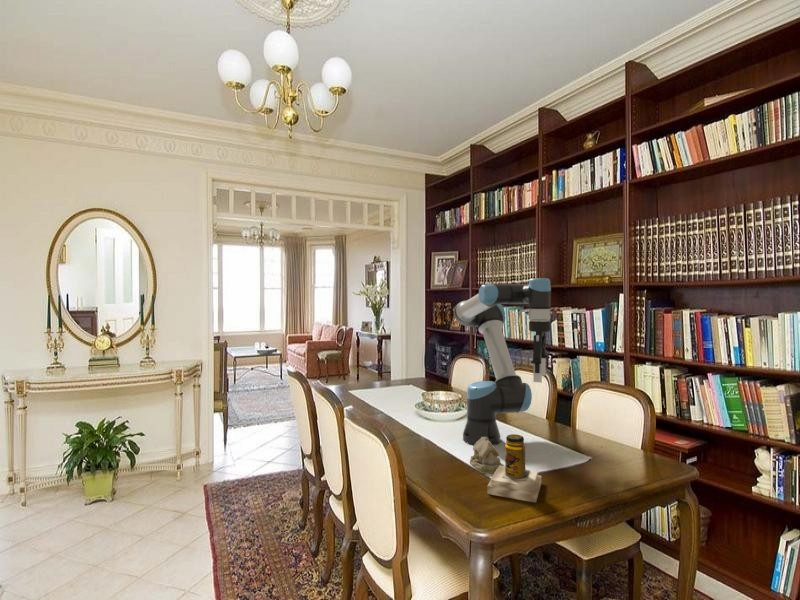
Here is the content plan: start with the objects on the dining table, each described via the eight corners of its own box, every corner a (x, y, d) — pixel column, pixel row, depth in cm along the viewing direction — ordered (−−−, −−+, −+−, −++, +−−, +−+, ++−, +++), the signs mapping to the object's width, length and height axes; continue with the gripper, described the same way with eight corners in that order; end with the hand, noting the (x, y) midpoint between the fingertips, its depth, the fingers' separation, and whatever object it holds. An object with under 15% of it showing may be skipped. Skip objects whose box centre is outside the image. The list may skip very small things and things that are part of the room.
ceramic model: (465, 458, 159) (465, 431, 159) (495, 457, 160) (495, 430, 160) (477, 474, 145) (477, 444, 145) (510, 472, 146) (509, 443, 146)
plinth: (487, 493, 131) (487, 480, 131) (496, 475, 143) (496, 463, 143) (536, 502, 125) (536, 488, 125) (541, 483, 138) (541, 470, 138)
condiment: (501, 477, 133) (501, 438, 132) (506, 467, 140) (506, 430, 140) (526, 481, 130) (526, 441, 130) (529, 471, 138) (529, 433, 137)
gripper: (547, 322, 146) (547, 386, 147) (553, 318, 169) (553, 373, 169) (524, 322, 149) (524, 384, 150) (533, 318, 172) (533, 372, 172)
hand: (539, 378), depth 160 cm, fingers open, 13 cm apart
